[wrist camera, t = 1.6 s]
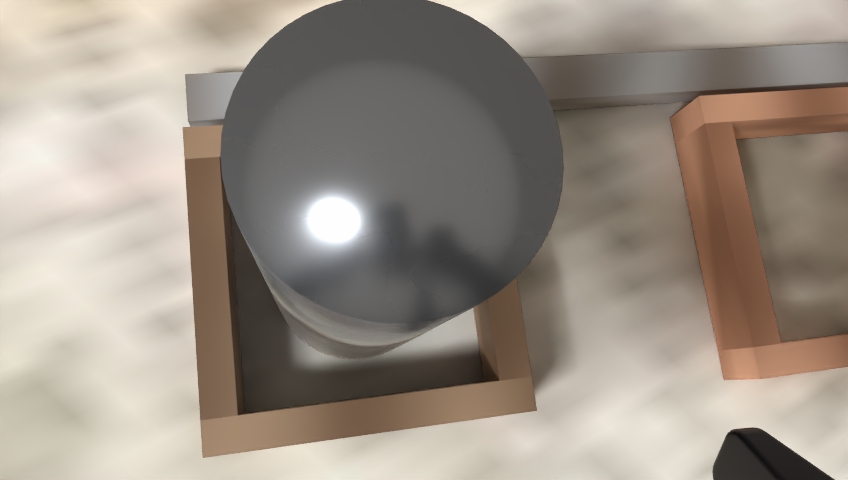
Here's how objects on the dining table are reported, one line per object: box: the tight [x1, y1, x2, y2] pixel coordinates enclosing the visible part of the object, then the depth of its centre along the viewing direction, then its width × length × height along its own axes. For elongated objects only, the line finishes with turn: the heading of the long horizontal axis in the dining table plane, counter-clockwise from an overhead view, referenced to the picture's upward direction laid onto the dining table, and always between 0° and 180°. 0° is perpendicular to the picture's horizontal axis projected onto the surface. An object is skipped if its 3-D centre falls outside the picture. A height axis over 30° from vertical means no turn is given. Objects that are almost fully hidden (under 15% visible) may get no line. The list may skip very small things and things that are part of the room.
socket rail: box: [183, 42, 848, 458], centre depth 23 cm, size 27×12×2 cm, turn 97°
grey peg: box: [220, 0, 563, 359], centre depth 16 cm, size 5×5×12 cm
